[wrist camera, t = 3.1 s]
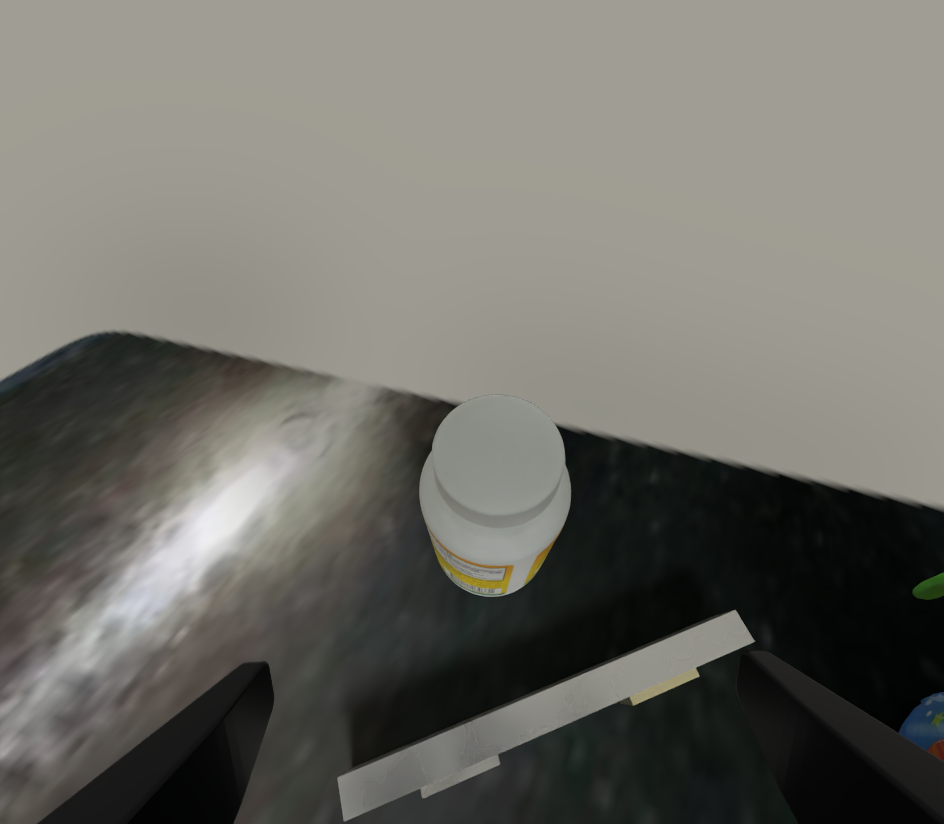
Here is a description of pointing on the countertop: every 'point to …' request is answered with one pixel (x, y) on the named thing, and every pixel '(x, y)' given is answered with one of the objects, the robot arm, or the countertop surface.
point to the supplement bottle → (494, 493)
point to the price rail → (538, 715)
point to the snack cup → (939, 716)
